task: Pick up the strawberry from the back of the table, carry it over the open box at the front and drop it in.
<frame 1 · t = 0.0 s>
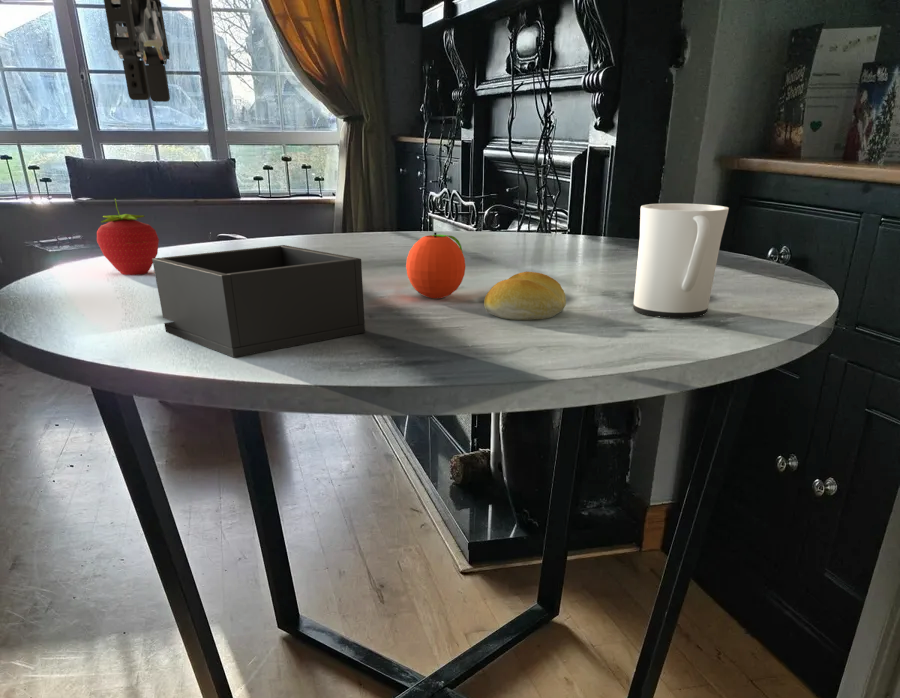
hand: (150, 100, 92), 20 cm above the table, tool pointing down, fingers open, 8 cm apart
strawberry: (137, 286, 101), on the table
clementine: (439, 299, 93), on the table
open box: (265, 332, 77), on the table
mug: (672, 314, 85), on the table
bread roll: (524, 314, 85), on the table
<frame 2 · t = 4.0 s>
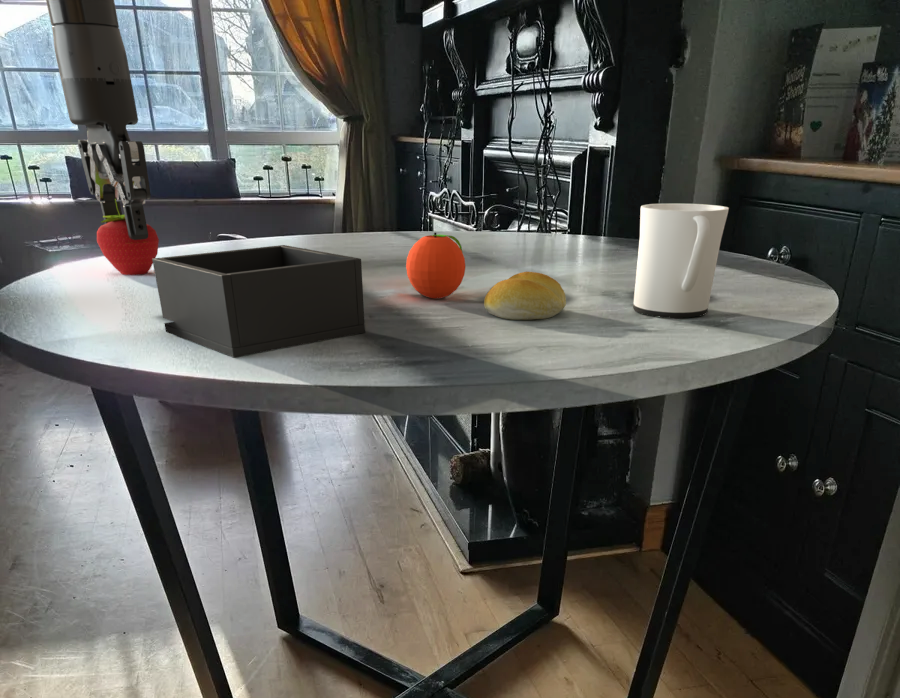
hand: (127, 236, 97), 6 cm above the table, tool pointing down, fingers closed on strawberry, 6 cm apart
strawberry: (137, 286, 101), on the table, touching gripper
everything else where it was.
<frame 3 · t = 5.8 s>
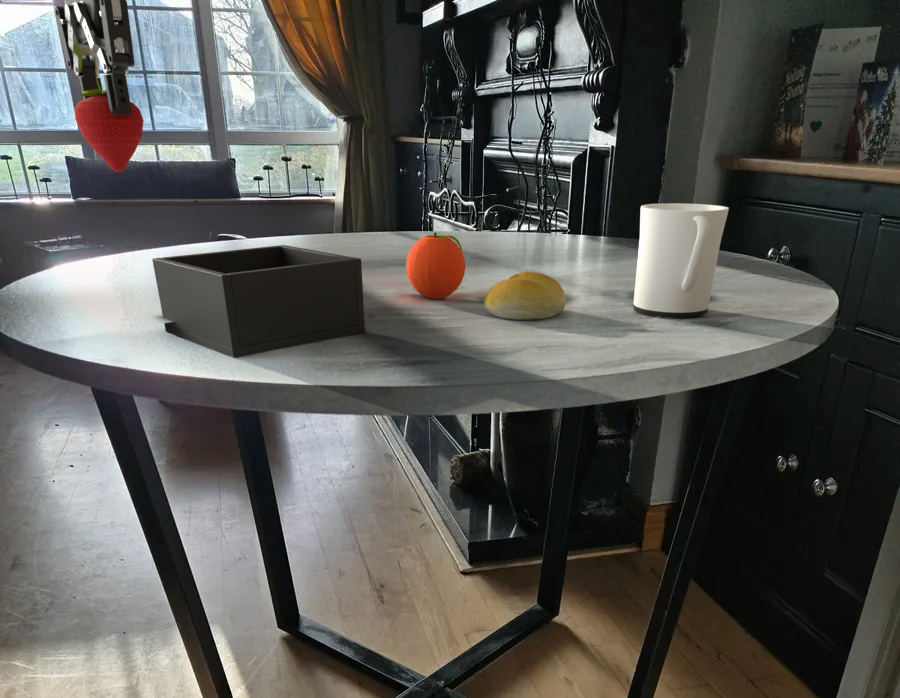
hand: (108, 114, 89), 19 cm above the table, tool pointing down, fingers closed on strawberry, 6 cm apart
strawberry: (119, 174, 92), point 13 cm above the table, touching gripper
everything else where it was.
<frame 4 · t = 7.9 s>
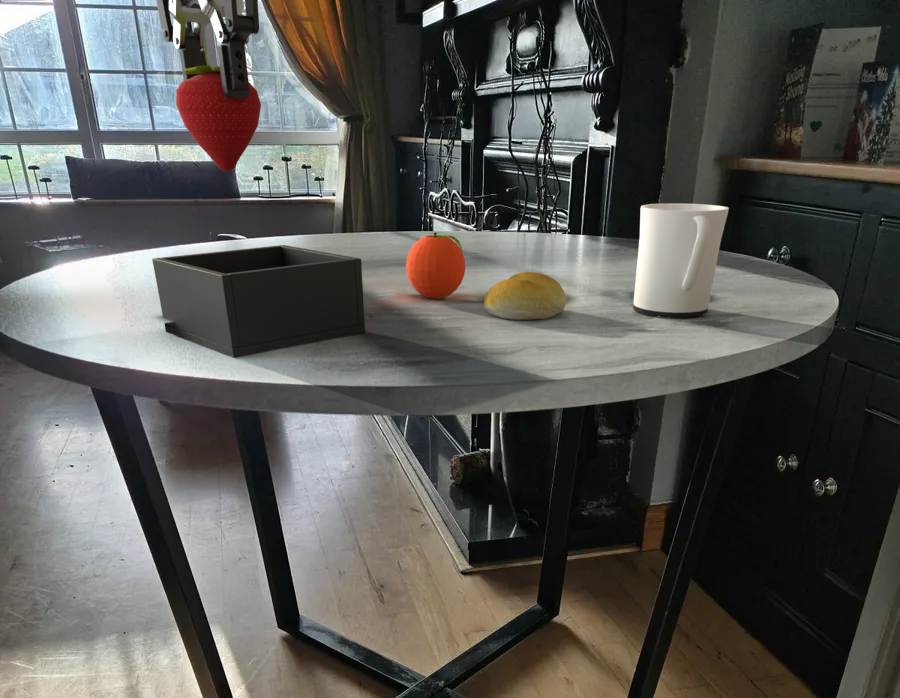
hand: (217, 98, 70), 20 cm above the table, tool pointing down, fingers closed on strawberry, 6 cm apart
strawberry: (227, 173, 73), point 14 cm above the table, touching gripper
everything else where it was.
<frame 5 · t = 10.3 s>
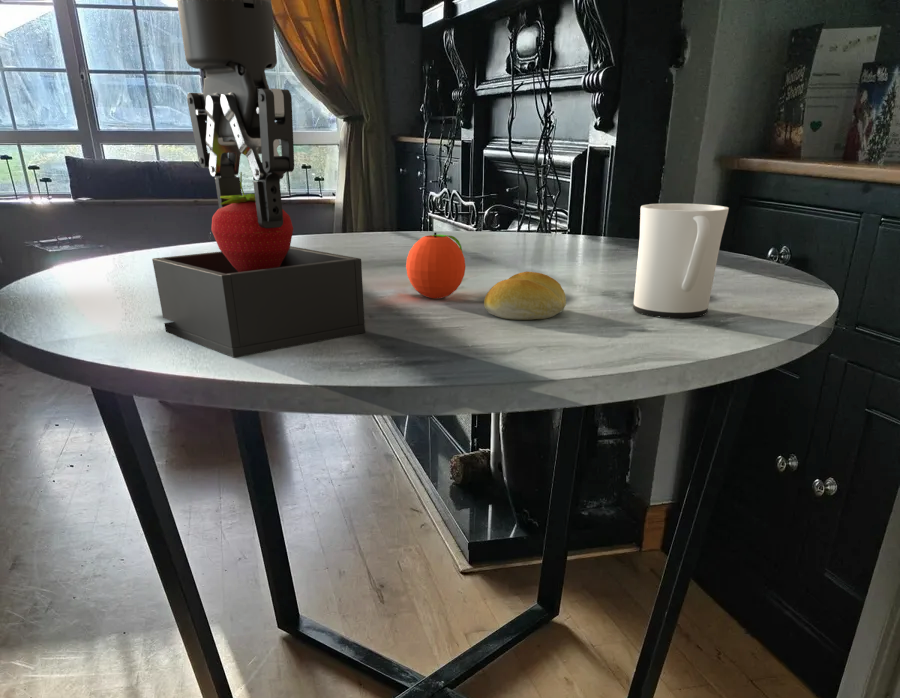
hand: (251, 223, 72), 10 cm above the table, tool pointing down, fingers closed on strawberry, 6 cm apart
strawberry: (259, 291, 75), point 4 cm above the table, touching gripper
everything else where it was.
when the fingers open (7 cm above the table, at t = 11.9 s): strawberry stays where it is, resting on open box.
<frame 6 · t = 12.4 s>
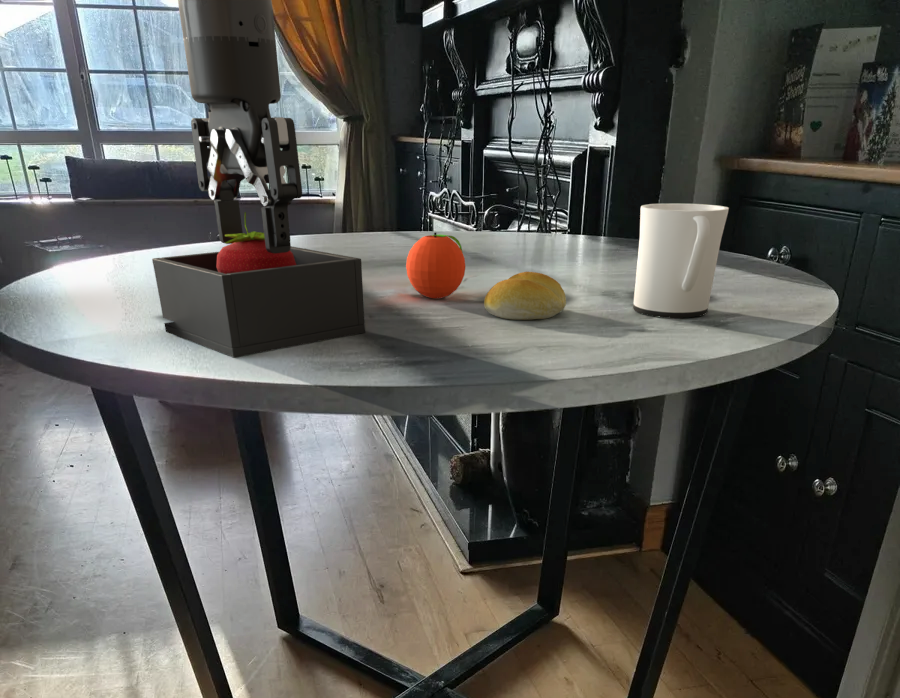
hand: (254, 247, 73), 8 cm above the table, tool pointing down, fingers open, 8 cm apart
strawberry: (263, 325, 77), point 1 cm above the table, touching open box
everything else where it was.
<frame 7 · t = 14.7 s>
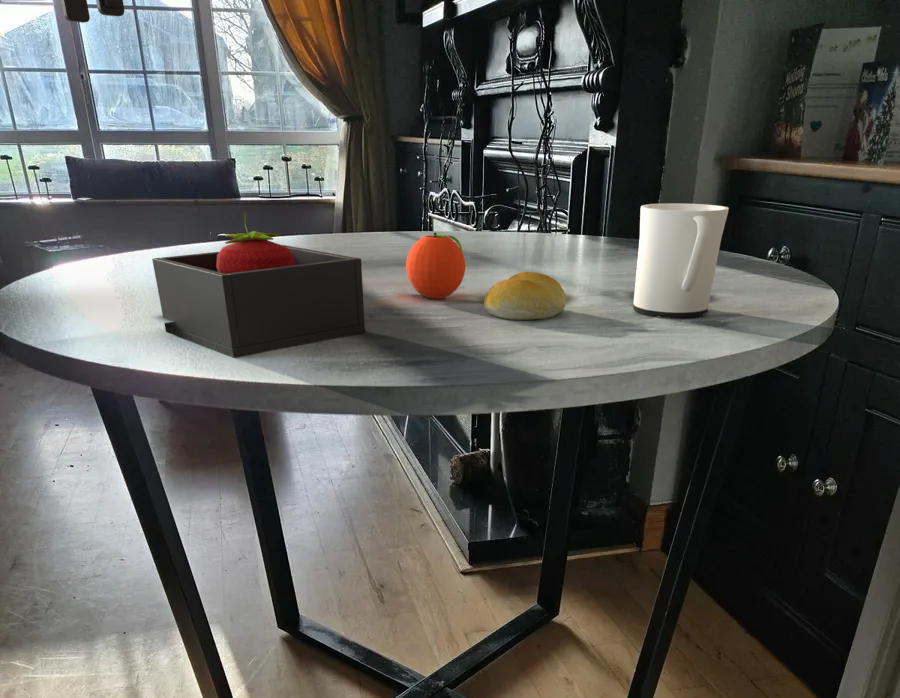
hand: (94, 18, 74), 26 cm above the table, tool pointing down, fingers open, 8 cm apart
nothing on the table moved.
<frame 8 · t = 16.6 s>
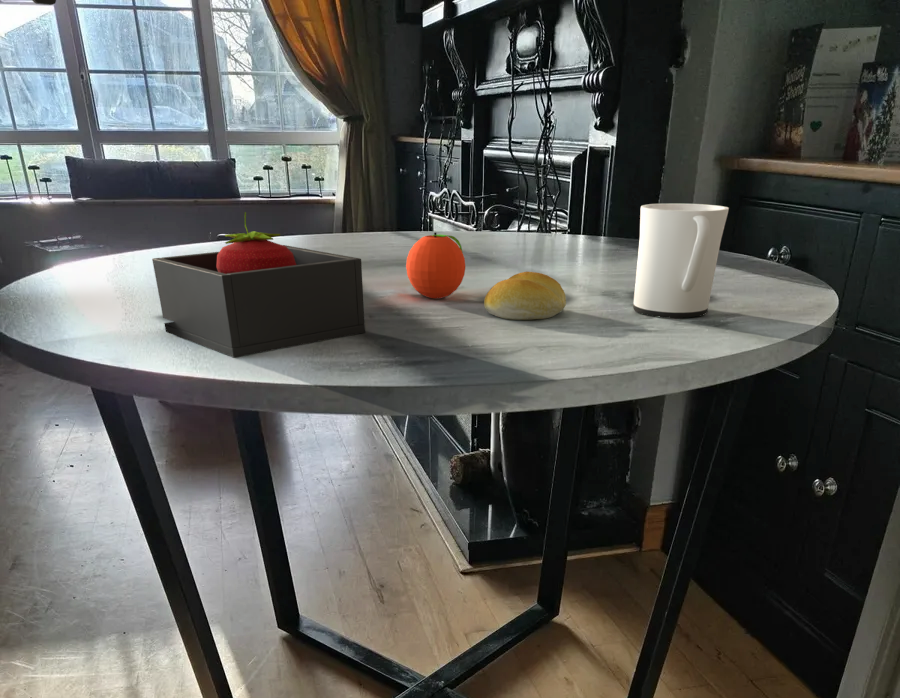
hand: (60, 0, 76), 28 cm above the table, tool pointing down, fingers open, 8 cm apart
nothing on the table moved.
at the end: strawberry inside the target area in the open box (0.1 cm from its centre), point 0.6 cm above the open box's base; the gripper is holding nothing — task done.
